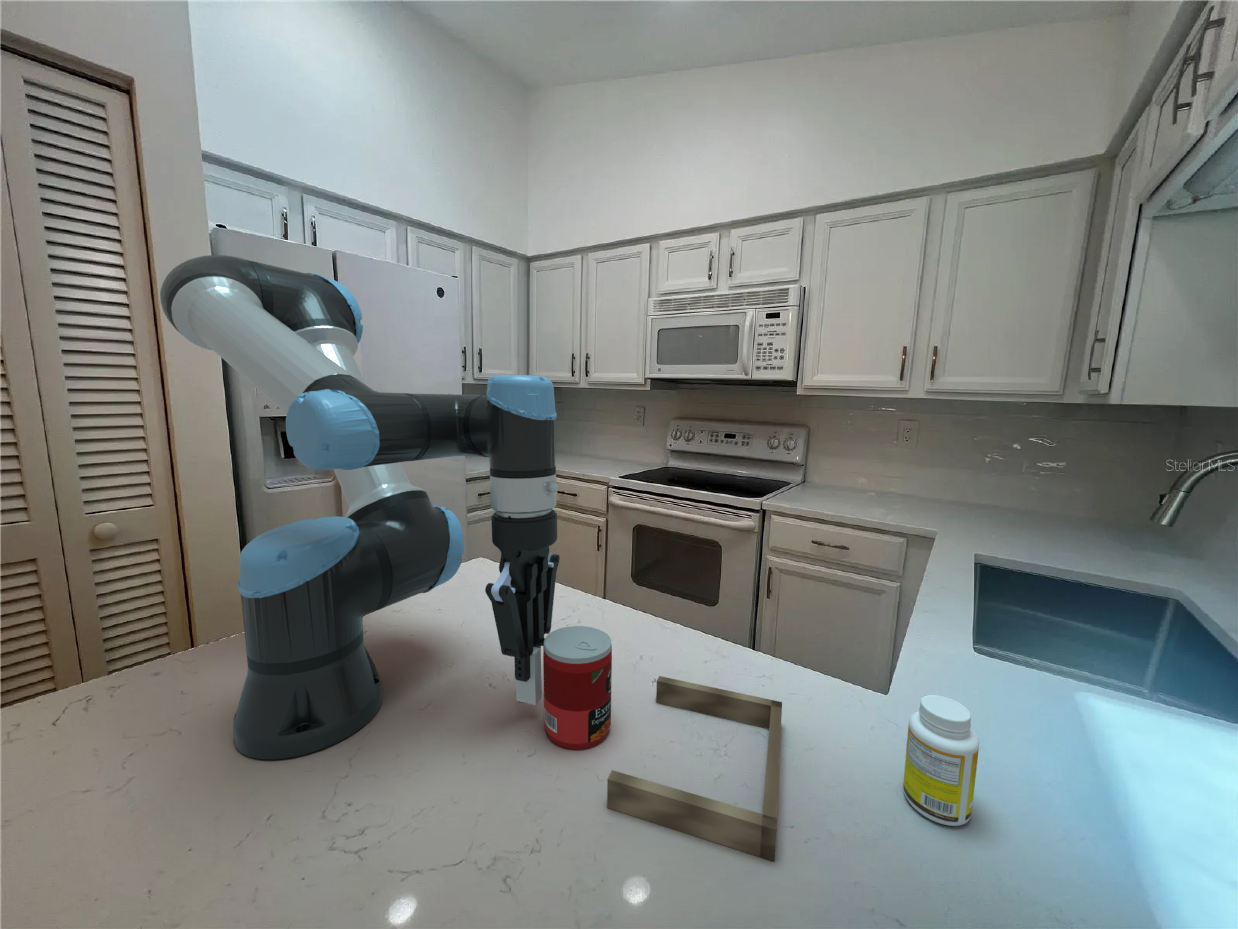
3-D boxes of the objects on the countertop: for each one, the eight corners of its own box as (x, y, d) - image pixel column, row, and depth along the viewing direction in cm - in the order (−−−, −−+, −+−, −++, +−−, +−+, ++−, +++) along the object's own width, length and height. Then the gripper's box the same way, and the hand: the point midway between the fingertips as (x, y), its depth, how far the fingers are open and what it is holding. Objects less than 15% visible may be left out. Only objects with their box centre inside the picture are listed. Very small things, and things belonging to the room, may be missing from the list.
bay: (607, 807, 45) (607, 779, 45) (658, 697, 63) (659, 675, 62) (774, 861, 40) (776, 829, 40) (780, 725, 57) (782, 702, 57)
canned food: (602, 756, 52) (603, 662, 51) (533, 745, 54) (532, 653, 52) (617, 712, 59) (618, 629, 58) (556, 703, 61) (555, 622, 60)
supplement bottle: (940, 780, 49) (950, 688, 48) (986, 827, 44) (998, 725, 42) (889, 783, 49) (897, 690, 47) (929, 832, 43) (940, 728, 42)
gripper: (522, 526, 48) (527, 741, 51) (577, 502, 60) (579, 677, 63) (461, 520, 51) (469, 725, 54) (526, 498, 63) (530, 666, 66)
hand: (529, 699), depth 58 cm, fingers closed
